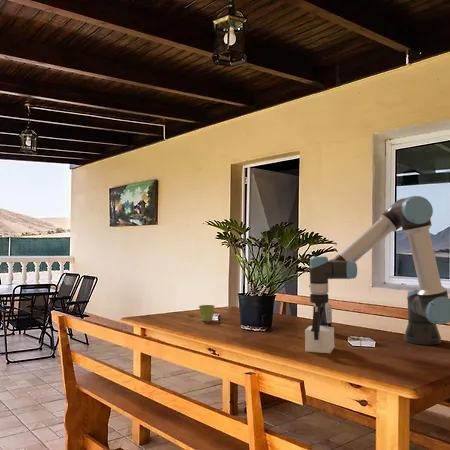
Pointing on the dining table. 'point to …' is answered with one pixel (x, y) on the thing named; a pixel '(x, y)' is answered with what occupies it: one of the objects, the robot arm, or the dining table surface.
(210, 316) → the plant pot
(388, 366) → the dining table surface
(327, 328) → the off-white square block
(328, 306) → the supplement can
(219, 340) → the dining table surface
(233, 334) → the dining table surface
